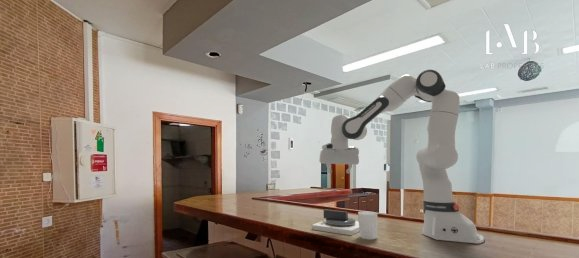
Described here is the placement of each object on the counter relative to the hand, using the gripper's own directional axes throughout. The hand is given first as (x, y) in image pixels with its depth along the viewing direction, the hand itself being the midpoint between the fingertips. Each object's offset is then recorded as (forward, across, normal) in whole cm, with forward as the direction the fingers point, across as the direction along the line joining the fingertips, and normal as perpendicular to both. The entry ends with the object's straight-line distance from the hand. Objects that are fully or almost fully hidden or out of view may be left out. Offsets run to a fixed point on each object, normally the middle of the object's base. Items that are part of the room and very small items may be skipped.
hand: (339, 173), depth 144 cm
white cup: (+26, -6, +25) cm, 36 cm away
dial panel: (+26, +1, +7) cm, 27 cm away
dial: (+23, +2, +7) cm, 24 cm away
